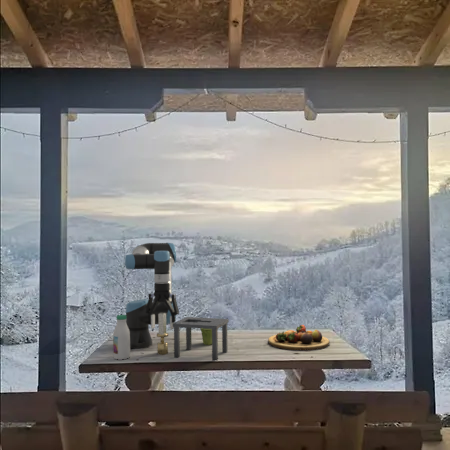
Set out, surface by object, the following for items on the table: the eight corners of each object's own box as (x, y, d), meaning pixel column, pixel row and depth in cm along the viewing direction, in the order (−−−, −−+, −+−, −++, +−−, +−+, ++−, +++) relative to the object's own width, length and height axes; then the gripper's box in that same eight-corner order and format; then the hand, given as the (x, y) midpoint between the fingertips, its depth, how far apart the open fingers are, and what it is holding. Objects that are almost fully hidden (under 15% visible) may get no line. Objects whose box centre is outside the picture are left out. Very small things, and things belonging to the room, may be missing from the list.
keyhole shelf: (172, 357, 231) (172, 323, 231) (187, 348, 248) (186, 316, 249) (217, 361, 225) (216, 326, 225) (228, 351, 242) (228, 319, 242)
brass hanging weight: (154, 354, 238) (154, 314, 238) (159, 351, 243) (159, 312, 243) (165, 355, 236) (165, 314, 236) (170, 352, 241) (169, 312, 241)
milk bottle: (131, 355, 236) (131, 313, 236) (128, 360, 228) (128, 316, 228) (115, 356, 235) (114, 314, 235) (112, 360, 228) (111, 317, 228)
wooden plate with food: (283, 334, 280) (283, 320, 280) (337, 341, 264) (337, 325, 264) (257, 346, 253) (257, 330, 253) (316, 354, 236) (316, 337, 236)
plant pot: (215, 346, 253) (215, 329, 253) (198, 345, 255) (197, 328, 255) (219, 342, 262) (219, 325, 262) (202, 341, 264) (202, 325, 264)
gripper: (138, 282, 239) (138, 328, 239) (179, 284, 233) (180, 331, 233) (145, 281, 247) (145, 325, 246) (186, 282, 240) (186, 328, 240)
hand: (162, 328), depth 240 cm, fingers open, 9 cm apart
